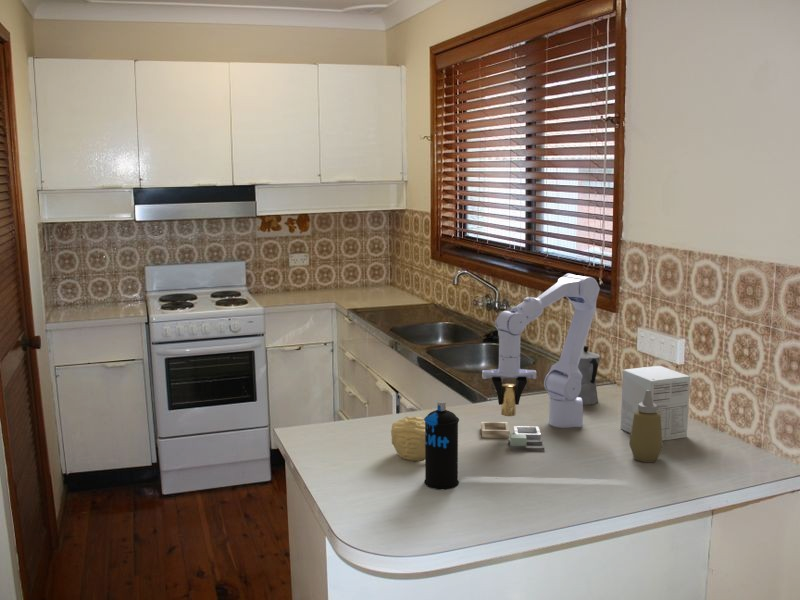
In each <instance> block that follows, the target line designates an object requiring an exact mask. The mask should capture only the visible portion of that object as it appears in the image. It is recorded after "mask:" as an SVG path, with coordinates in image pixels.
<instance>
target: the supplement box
mask: <svg viewBox="0 0 800 600" xmlns="http://www.w3.org/2000/svg"><path fill="white" fill-rule="evenodd" d="M621 385H622V386H621V405H620V406H621V407H620V408H621V410H620V412H621V414H620V429H621V430H623V431H625V432H627V433H629V434H631V431H632V424H633V417H634V413H635V412H636V411H638V404H639V403H641V402H643V399H644V396H645V392H646V390H650V391H651V395H652V401H653V403H654V404H656V405H657V412H658V413H659V414H660V416H661V431H662V442H663V441H670V440H676V439H682V438H687V437H688V423H689V422H688V421H689V420H688V419H689V406H690V405H689V403H690V386H691V375H687V374H684V373H681V372H680V371H676V370H672V369H671V368H668V367H665V366H662V365H653V366H645V367H643V366H642V367H636V368H634V367H633V368H626V369H622V384H621Z"/></svg>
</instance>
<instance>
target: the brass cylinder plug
mask: <svg viewBox="0 0 800 600" xmlns="http://www.w3.org/2000/svg"><path fill="white" fill-rule="evenodd" d="M501 394H502V405H500V407H501V408H500V413H501V414H500V415H502V416H503V417H504V416H505V417H514V416H516V415H517V405H516V384H514V383H502V393H501Z"/></svg>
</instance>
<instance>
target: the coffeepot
mask: <svg viewBox="0 0 800 600" xmlns="http://www.w3.org/2000/svg"><path fill="white" fill-rule="evenodd" d="M588 349H589V346H588V345H584V349H583V352H582V355H581V358H580V361H579V365H578V369H579V371H580V372H581V374H582V380H581V391H580V394H579V395H578V396H577V397H581V398H582V401H583V406H584V405H585V406H589V405H590V406H591V404H592V405H595V404H598V402H599V399H598V390H597V381H596V378H597V373H598V369H599V363H600V358H601V357H600V356H601V355H600V354H598V353H595V352H592V351H588Z"/></svg>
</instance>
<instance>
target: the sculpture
mask: <svg viewBox="0 0 800 600" xmlns="http://www.w3.org/2000/svg"><path fill="white" fill-rule="evenodd" d="M424 418H425V417H420V416H405V417H403V418H402V419H400V420H398V421H395V422H393V423H392V424H391V431H390V432H391V445H393V447H394V449H395V451H396V453H397V454H398V456H400V457H401V458H402V459H404V460H406V461H411V462H412V461H414V462H419V461H420V462H421V461H425V421H424Z"/></svg>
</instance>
